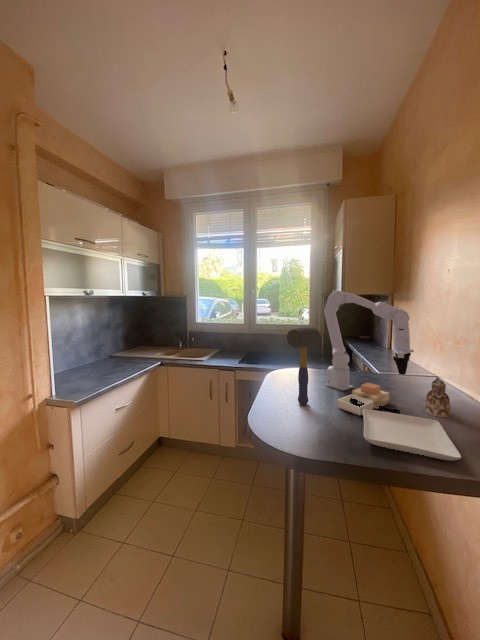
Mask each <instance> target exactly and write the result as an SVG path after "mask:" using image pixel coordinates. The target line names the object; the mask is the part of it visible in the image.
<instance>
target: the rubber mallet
mask: <svg viewBox="0 0 480 640" xmlns="http://www.w3.org/2000/svg"><path fill="white" fill-rule="evenodd" d="M320 339H321V334H320V331H319V330H318V328H316V327H314V326H302V327H297V328H292V329H290V330H289V331H288V332H287V334H286V340H287V341H286V342H287V343H288V345H289V346H290V347H291V348H300V349H299V368H298V373H297V374H298V375H297V376H298V377H297V379H298V396H297V402H298V404H299V405H300V406H306V405H307V404H308V403H309V396H308V395H309V394H308V385H309V369H308V367H307V366H308V363H307V362H308V361H307V358H308V355H307V353H308V347H309V346H312V345H316V344H318V342H319V341H320Z"/></svg>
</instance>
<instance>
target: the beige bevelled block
mask: <svg viewBox="0 0 480 640" xmlns="http://www.w3.org/2000/svg"><path fill="white" fill-rule="evenodd" d="M351 394H352V395H355V396H358V397H362V398H365V399H368V400H371V401H374V407H373V409H380V408H379V406H382V407H384V406H386V405H388V404H389V403H390V392H388V391H384V390H381V389H380V392H379V393H377V394H375V395H372V394H368V393H365V392H362V391H361V386H360V387H358V388H355V389H352V391H351Z"/></svg>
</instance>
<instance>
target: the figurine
mask: <svg viewBox="0 0 480 640" xmlns="http://www.w3.org/2000/svg"><path fill="white" fill-rule="evenodd" d="M446 386H447V385H446V383H445V382H444V381H443V380H441V379H440V377H435V379H434V380H432V382H431V389H430V390H429V391H428V392H427V393H426V397H425V402H424V406H423V407H424V409H423V410H424V412H426V413H427V414H429V415H430V416H433V417H438V418H449V417H450V415H451V402H450V396H449V395H448V394H447V393H446Z"/></svg>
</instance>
